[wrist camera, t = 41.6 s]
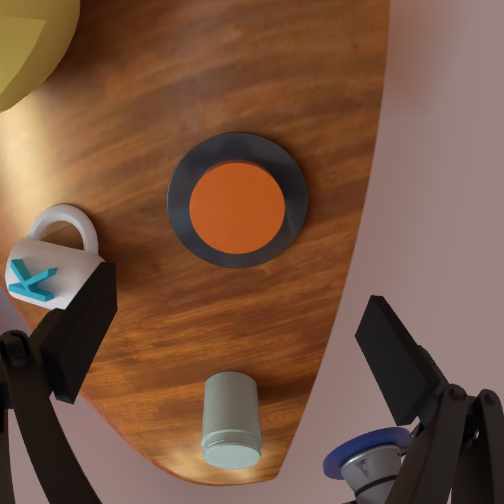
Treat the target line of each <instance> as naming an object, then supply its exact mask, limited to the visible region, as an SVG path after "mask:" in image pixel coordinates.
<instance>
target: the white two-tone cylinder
mask: <svg viewBox="0 0 504 504" xmlns="http://www.w3.org/2000/svg"><path fill="white" fill-rule="evenodd" d="M57 221H67V222H70V223H72V224H73V225H74V226H76V228H77V229H78V230H79V232H80V234H81V236H82V238H83V244H84V251H82V250H78V249H73V248H69V247H65V246H61V245H56V244H52V243H48V242H44V241H41V237H42V235H43V233H44V231H45V230H46V228H47V227H48V226H49V225H51V224H52V223H54V222H57ZM101 261H102V262H105V260H104V259H103V258H101V257H100V256H99V255H98V239H97V233H96V231H95V229H94V226H93V224H92V222H91V221H90V219H89V218H88V217H87V215H86V214H85V213H84V212H82V211H81V210H80V209H78V208H76V207H74V206H71V205H63V204H59V205H55V206H52V207H49V208H48V209H46V210H45V211H43V212H42V213H41V214H40V215H39V216H38V217H37V218H36V219H35V221H34V223H33V224H32V226H31V228H30V231H29V235H28V238H27V237H25V238H21V239H20V240H19V241H18V242H16V244H15V245H14V247H13V248H12V250H11V252H10V255H9V257H8V260H7V266H6V284H7V289H8V291H9V293H10V295H12V296H13V297H14V298H17V299H20V300H23V301H26V302H29V303H32V304H35V305H38V306H42V307H45V308H48V309H51V310H53V309H54V308H60V309H66V307H67V306H68V304H69V303H70V302H71V300H72V299H73V298H74V296H75V295H76V294H77V292H78V291H79V290H80V288H81V287H82V286H83V284H84V283H85V282H86V280H87V279H88V278H89V276H90V275H91V274H92V273H93V271H94V270H95V269H96V268H97V266H98V265H99V264H100V263H101Z"/></svg>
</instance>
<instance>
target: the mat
mask: <svg viewBox="0 0 504 504" xmlns="http://www.w3.org/2000/svg"><path fill="white" fill-rule="evenodd" d="M228 160H246V161H250V162H253V163H256V164H258V165H260V166H261V167H263V168H264V169H266V170H267V171H268V172H269V173H270V174H271V175H272V176H273V178H274V179H275V180H276V182H277V184H278V185H279V187H280V189H281V191H282V194H283V197H284V202H285V214H284V219H283V222H282V225H281V227H280V229H279V231H278V232H277V234H276V235H275V236H274V238H273V239H272V240H271V241H270V242H268V243H267V244H266V245H264V246H263V247H261V248H259V249H257V250H255V251H252V252H248V253H243V254H231V253H226V252H222V251H219V250H216V249H215V248H213V247H211V246H209V245H208V244H207V243H205V242H204V241H203V240H202V239H201V238H200V236H199V235H198V234H197V232H196V231H195V229H194V227H193V224H192V221H191V217H190V200H191V196H192V193H193V191H194V188H195V186H196V185H197V183H198V181H199V179H200V178H201V177H202V175H203V174H204V173H205V172H206V171H207V170H209V169H210V168H211V167H213V166H215V165H217V164H219V163H221V162H224V161H228ZM307 206H308V195H307V187H306V183H305V180H304V177H303V175H302V172H301V170H300V168H299V167H298V165H297V163H296V162H295V161H294V159H293V158H292V157H291V156H290V155H289V154H288V153H287V152H286V151H285V150H284V149H283V148H281V147H280V146H279V145H277V144H276V143H274V142H272V141H270V140H269V139H267V138H264V137H261V136H259V135H255V134H250V133H241V132H236V133H226V134H220V135H217V136H214V137H211V138H209V139H207V140H205V141H203V142H201V143H200V144H198V145H197V146H195V147H194V148H193V149H192V150H190V151H189V152H188V153H187V154H186V155H185V156H184V157H183V159H182V160H181V161H180V162H179V164H178V165H177V167H176V169H175V171H174V173H173V175H172V177H171V180H170V183H169V187H168V193H167V209H168V215H169V219H170V222H171V225H172V227H173V229H174V231H175V233H176V235H177V237H178V238H179V239H180V241H181V242H182V243H183V244H184V245H185V246H186V247H187V248H188V249H189V250H190V251H191V252H192V253H193V254H195V255H196V256H198V257H199V258H201V259H203V260H205V261H207V262H209V263H211V264H215V265H218V266H222V267H228V268H246V267H251V266H256V265H259V264H262V263H265V262H267V261H269V260H271V259H273V258H274V257H276V256H278V255H279V254H280V253H282V252H283V251H284V250H285V249H286V248H287V247H288V246H289V245H290V244H291V243H292V242H293V241H294V239H295V238H296V237H297V235H298V233H299V232H300V230H301V228H302V225H303V223H304V220H305V217H306V212H307Z"/></svg>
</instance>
